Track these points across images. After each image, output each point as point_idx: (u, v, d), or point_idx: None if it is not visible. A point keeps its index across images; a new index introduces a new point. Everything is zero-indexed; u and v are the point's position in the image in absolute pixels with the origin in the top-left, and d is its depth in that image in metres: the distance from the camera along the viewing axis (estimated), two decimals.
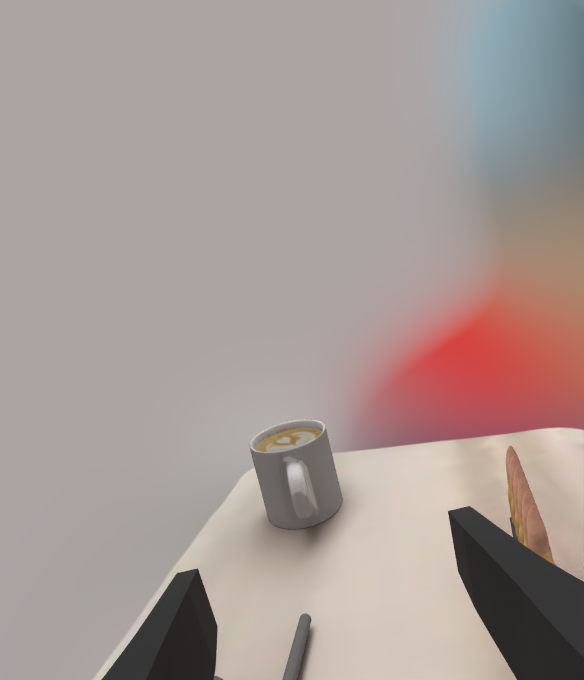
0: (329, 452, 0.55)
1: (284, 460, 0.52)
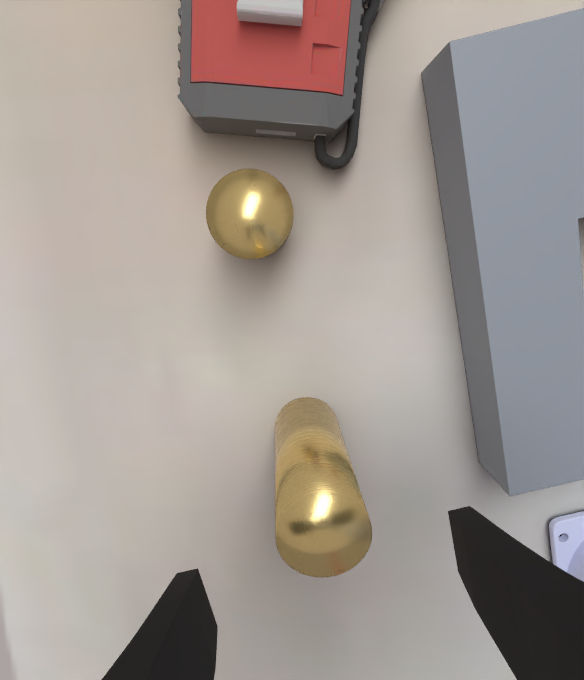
0: None
1: None
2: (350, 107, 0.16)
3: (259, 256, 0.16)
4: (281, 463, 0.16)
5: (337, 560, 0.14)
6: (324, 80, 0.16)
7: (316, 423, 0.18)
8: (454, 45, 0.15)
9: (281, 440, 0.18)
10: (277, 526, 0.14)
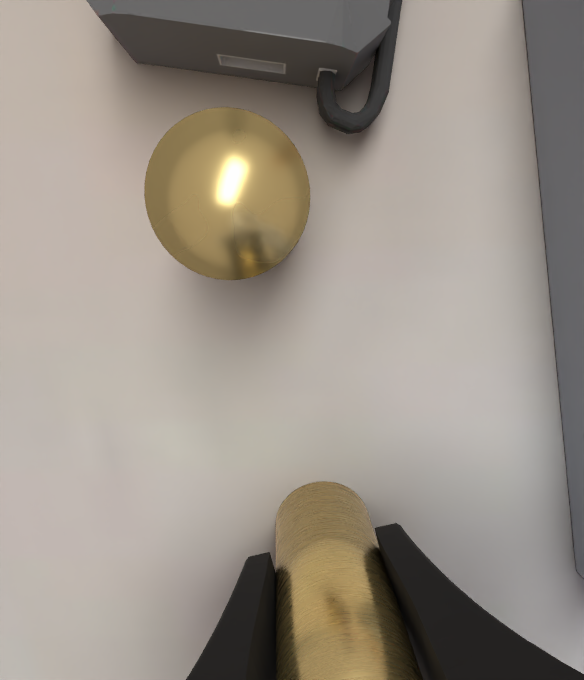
0: None
1: None
2: (384, 14, 0.09)
3: (246, 275, 0.08)
4: (287, 641, 0.09)
5: None
6: None
7: (343, 546, 0.11)
8: None
9: (286, 575, 0.11)
10: None
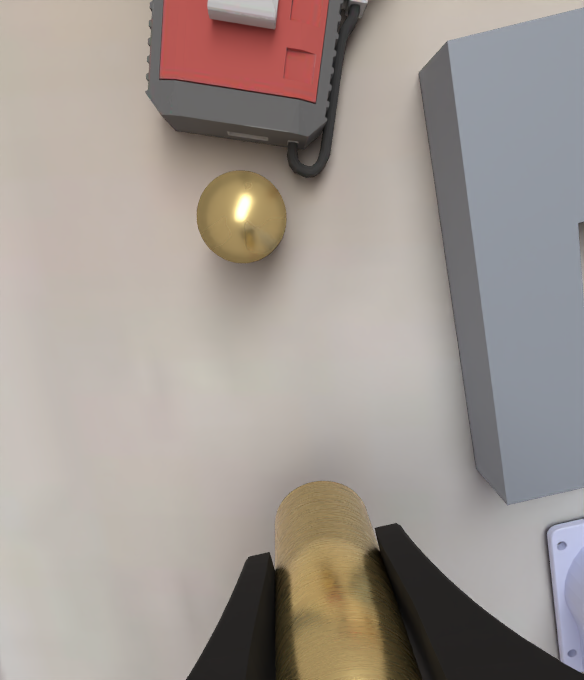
0: None
1: None
2: (323, 115, 0.16)
3: (251, 260, 0.15)
4: (286, 639, 0.09)
5: None
6: (297, 86, 0.15)
7: (342, 545, 0.11)
8: (452, 44, 0.15)
9: (285, 574, 0.11)
10: None
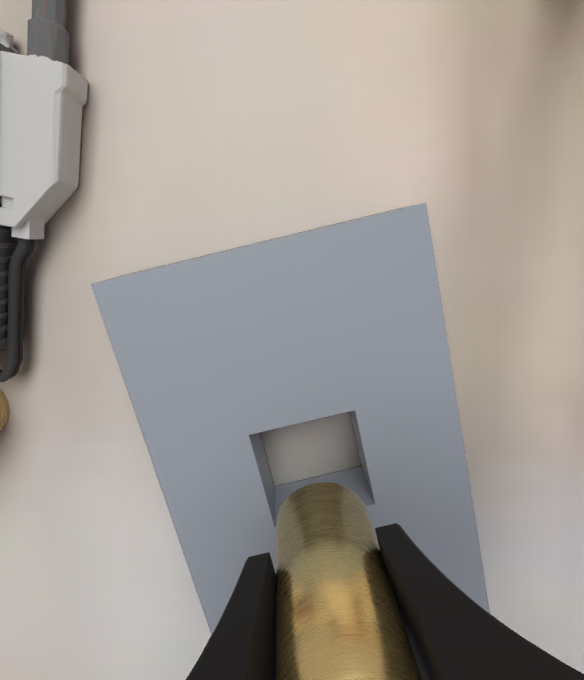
0: None
1: None
2: None
3: None
4: (289, 638, 0.09)
5: None
6: None
7: (347, 547, 0.11)
8: (95, 287, 0.15)
9: (288, 572, 0.11)
10: None
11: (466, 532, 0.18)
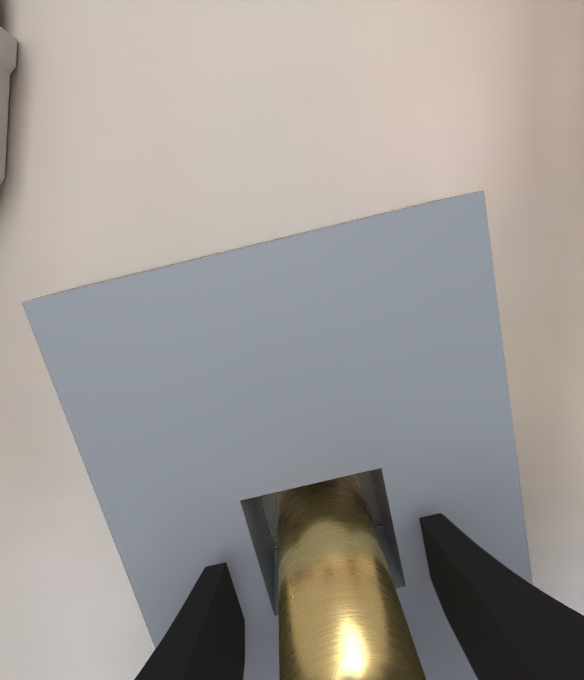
0: None
1: None
2: None
3: None
4: (290, 567, 0.11)
5: None
6: None
7: (338, 500, 0.13)
8: (27, 307, 0.11)
9: (288, 521, 0.13)
10: None
11: None
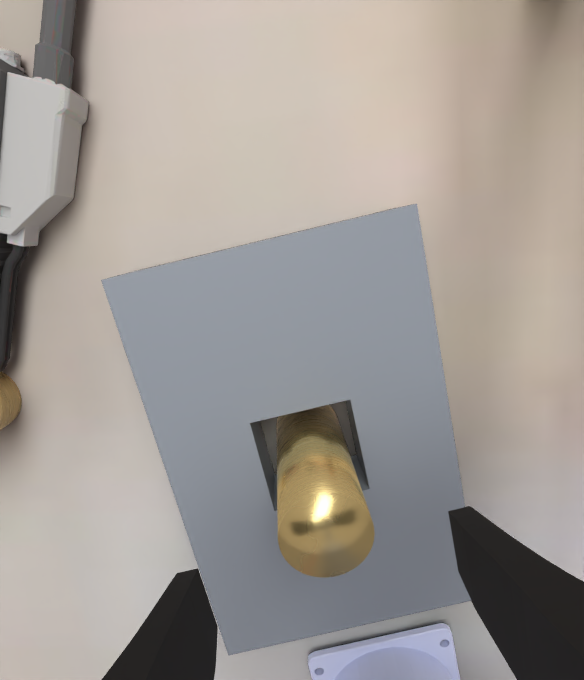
0: None
1: None
2: None
3: None
4: (285, 461, 0.16)
5: (337, 561, 0.14)
6: None
7: (320, 424, 0.18)
8: (105, 283, 0.16)
9: (284, 438, 0.18)
10: (280, 523, 0.14)
11: None
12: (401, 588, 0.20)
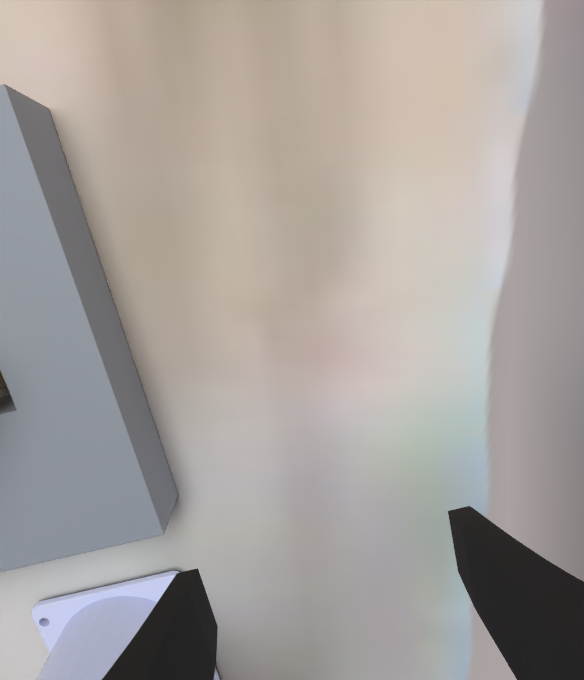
0: None
1: None
2: None
3: None
4: None
5: None
6: None
7: None
8: None
9: None
10: None
11: (119, 441, 0.18)
12: (74, 522, 0.19)
